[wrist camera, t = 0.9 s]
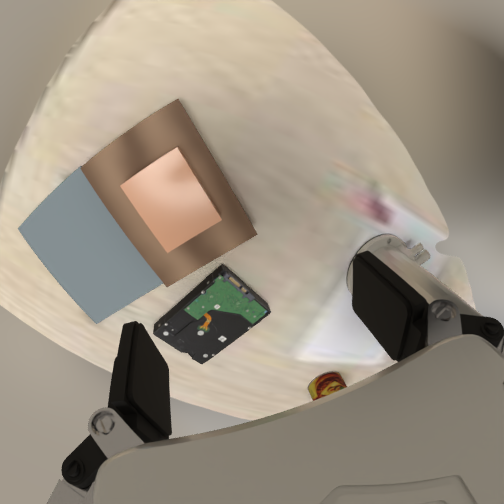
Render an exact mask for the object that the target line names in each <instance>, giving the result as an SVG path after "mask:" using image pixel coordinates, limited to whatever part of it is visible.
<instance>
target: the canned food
mask: <svg viewBox="0 0 504 504" xmlns="http://www.w3.org/2000/svg"><path fill="white" fill-rule="evenodd" d="M346 387H347V386H346V384H345V382H344V380H343V379H342V377H341V375H340V374H339V373H338V372H335V371H331V372H327V373H324V374H322V375H319V376H318V377H316V378H315V379H314V380H313V381H312V382H311V383H310V384H309V386H308V390H309V392H310V395H311V397H312V399H313V401H314V400H317V399H320V398H322V397H325V396H327V395H330V394H332V393H334V392H337V391H339V390H342V389H344V388H346Z"/></svg>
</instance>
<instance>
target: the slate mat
mask: <svg viewBox="0 0 504 504" xmlns="http://www.w3.org/2000/svg"><path fill="white" fill-rule="evenodd" d="M81 167H82V166H80V167H79V168H78V169H77V170H76V171H74V172H73V173H72V174H71V175H70V176H69V177H68V178H67V179H66V180H64V181H63V182H62V183H61V184H60V185H59V186H58V187H57V188H56V189H55V190H54V191H53V192H52V193H51V194H50V195H49V196H48V197H47V198H46V199H45V200H44V201H43V202H42V203H41V204H40V205H39V206H38V207H37V208H36V209H35V210H34V211H33V212H32V213H31V215H30V216H29V217H28V218H27V219H26V220H25V221H24V222H23V223H22V225H21V226H20V227H19V228H18V230H19V231H20V233H21V234H22V236H23V237H24V238H25V240H26V241H27V243H28V244H29V245H30V247H31V248H32V250H33V251H34V252H35V254H36V255H37V256H38V258H39V259H40V260H41V262H42V263H43V264H44V265H45V267H46V268H47V269H48V271H49V272H50V273H51V274H52V275H53V277H54V278H55V279H56V280H57V282H58V283H59V284H60V285H61V286H62V287H63V289H64V290H65V291H66V292H67V293H68V294H69V295H70V297H71V298H72V299H73V300H74V301H75V302H76V303H77V304H78V305H79V306H80V308H81V309H82V310H83V311H84V312H85V313H86V314H87V315H88V316H89V317H90V318H91V319H92V320H93V321H94V322H95V323H96V324H97V323H99V322H101V321H102V320H104V319H105V318H107V317H109V316H110V315H112V314H114V313H115V312H117V311H118V310H120V309H122V308H123V307H125V306H127V305H128V304H130V303H131V302H133V301H135V300H136V299H138V298H140V297H141V296H143V295H145V294H146V293H148V292H150V291H151V290H153V289H155V288H156V287H158V286H160V285H161V284H163V282H162V281H161V279H160V278H159V277H158V276H157V275H156V273H155V272H154V271H153V270H152V268H151V267H150V266H149V265H148V263H147V262H146V261H145V259H144V258H143V257H142V256H141V254H140V253H139V252H138V250H137V249H136V248H135V247H134V245H133V244H132V243H131V241H130V240H129V239H128V237H127V236H126V235H125V233H124V232H123V230H122V229H121V228H120V226H119V225H118V224H117V222H116V221H115V219H114V218H113V217H112V215H111V214H110V212H109V211H108V210H107V208H106V207H105V205H104V204H103V202H102V201H101V199H100V198H99V196H98V195H97V193H96V192H95V190H94V189H93V187H92V186H91V184H90V183H89V181H88V180H87V178H86V177H85V175H84V174H83V172H82V170H81V169H80V168H81Z"/></svg>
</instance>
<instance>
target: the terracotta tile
mask: <svg viewBox="0 0 504 504" xmlns="http://www.w3.org/2000/svg"><path fill="white" fill-rule="evenodd" d="M120 187H121V188H122V190H123V191H124V193H125V194H126V196H127V197H128V199H129V200H130V202H131V203H132V204H133V206H134V207H135V209H136V210H137V212H138V213H139V215H140V216H141V217H142V219H143V220H144V222H145V223H146V225H147V226H148V227H149V229H150V230H151V231H152V233H153V234H154V236H155V237H156V238H157V240H158V241H159V242H160V244H161V245H162V247H163V248H164V249H165V251H166V252H167V253H168V252H170V251H172V250H173V249H175V248H177V247H178V246H180V245H181V244H183V243H185V242H186V241H188V240H190V239H191V238H193V237H194V236H196V235H198V234H199V233H201V232H203V231H204V230H206V229H208V228H209V227H211V226H213V225H215V224H216V223H218V222H220V221H221V220H222V218H221V215H220V213H219V212H218V210H217V208H216V207H215V205H214V203H213V202H212V200H211V199H210V197H209V195H208V194H207V192H206V190H205V189H204V187H203V186H202V184H201V182H200V181H199V179H198V177H197V176H196V174H195V173H194V171H193V169H192V168H191V166H190V164H189V163H188V161H187V159H186V158H185V156H184V155H183V153H182V151H181V150H180V148H179V146H177V147H176V148H174V149H172V150H171V151H169V152H168V153H166V154H165V155H163V156H161V157H160V158H158V159H157V160H155V161H154V162H152V163H151V164H149V165H148V166H146V167H145V168H143V169H142V170H141V171H139V172H138V173H136V174H135V175H133V176H132V177H131V178H129V179H128V180H126V181H125V182H124V183H123V184H122V185H120Z"/></svg>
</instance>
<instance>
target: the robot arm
mask: <svg viewBox="0 0 504 504" xmlns="http://www.w3.org/2000/svg"><path fill="white" fill-rule="evenodd" d="M422 250H423V246H422V244H421V243H418V244H417V245H415V246H414V247H413V248H412V249H407V247H406V245H405V243H404V242H403V241H402V240H401V239H399V238H398V237H396V236H393V235H381V236H378V237H376V238H373V239H372V240H370V241H369V242H367V243H366V244H365V245H364V246H363V247H362V248H361V249H360V250H359V251H358V253H357V254H356V256H355V257H354V259H353V261H352V263H351V265H350V268H349V271H348V276H347V285H348V288H349V291H350V293H351V294H352V307H353V310H354V312H355V313H356V314H357V316H358V317H359V318H360V319H361V320H362V322H363V323H364V324H365V325H366V327H367V328H368V329H369V330H370V332H371V333H372V334H373V335H374V337H375V338H376V339H377V341H378V342H379V343H380V344H381V346H382V347H383V348H384V349H385V351H386V352H387V353H388V355H389V356H390V357H391V358H392V359H393V360H397V362H398V363H396V364H394V365H392V366H390V367H388V368H386V369H384V370H382V371H380V372H378V373H376V374H374V375H372V376H370V377H368V378H366V379H364V380H362V381H359V382H357V383H355V384H353V385H351V386H348V387H346V388H344V389H342V390H339V391H337V392H334V393H332V394H330V395H327V396H325V397H322V398H320V399H317V400H314V401H312V402H309V403H306V404H304V405H301V406H298V407H295V408H292V409H290V410H287V411H284V412H281V413H277V414H274V415H271V416H268V417H264V418H261V419H258V420H254V421H251V422H247V423H243V424H239V425H235V426H231V427H227V428H223V429H219V430H214V431H209V432H205V433H200V434H195V435H190V436H184V437H179V438H173V439H169V435H171V434H172V428H171V414H170V413H171V412H170V391H169V368H168V365H167V363H166V361H165V360H164V358H163V357H162V355H161V354H160V352H159V350H158V349H157V347H156V346H155V344H154V342H153V341H152V339H151V338H150V336H149V334H148V333H147V331H146V329H145V327H144V326H143V324H142V323H140V324H139V323H138V322H137V321H134V322H130V323H126V324H124V325H123V328H122V333H121V338H120V344H119V349H118V355H117V357H116V358H115V361H114V367H113V373H112V379H111V386H110V393H109V402H108V408H101V409H99V410H97V411H96V412H94V413H93V414H92V416H91V417H90V419H89V423H88V430H89V432H90V435H89V436H88V437H87V438H86V439H85V440H84V441H83V442H82V443H81V444H80V445H79V446H78V447H77V448H76V449H75V450H74V451H73V452H72V453H71V454H70V455H69V456H68V457H67V458H66V459H65V460H64V462H63V464H62V475H63V477H64V479H63V480H59V481H58V483H57V485H56V487H55V489H54V491H53V492H52V495H51V496H50V498H49V500H48V502H47V504H504V328H503V326H502V325H501V323H500V322H499V321H498V320H496V319H494V318H490V317H484V316H482V315H481V314H480V313H478V312H477V311H476V310H475V309H474V308H472V307H471V306H470V305H469V304H467V303H466V302H465V301H464V300H463V299H461V298H460V297H459V296H458V295H457V294H455V293H454V292H453V291H452V290H450V289H449V288H448V287H447V286H446V285H444V284H443V283H442V282H441V281H439V280H438V279H437V278H436V277H434V276H433V275H432V274H431V273H429V272H428V271H427V270H426V269H424V268H423V267H422V266H420V265H421V264H423V263H424V262H426V261H427V260H428V259H429V258H430V254H429V252H428V251H427V250H425V249H424V250H423V251H422ZM420 251H421V252H420ZM419 252H420V253H419ZM418 253H419V254H418ZM416 254H417V256H414V255H416Z"/></svg>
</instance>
